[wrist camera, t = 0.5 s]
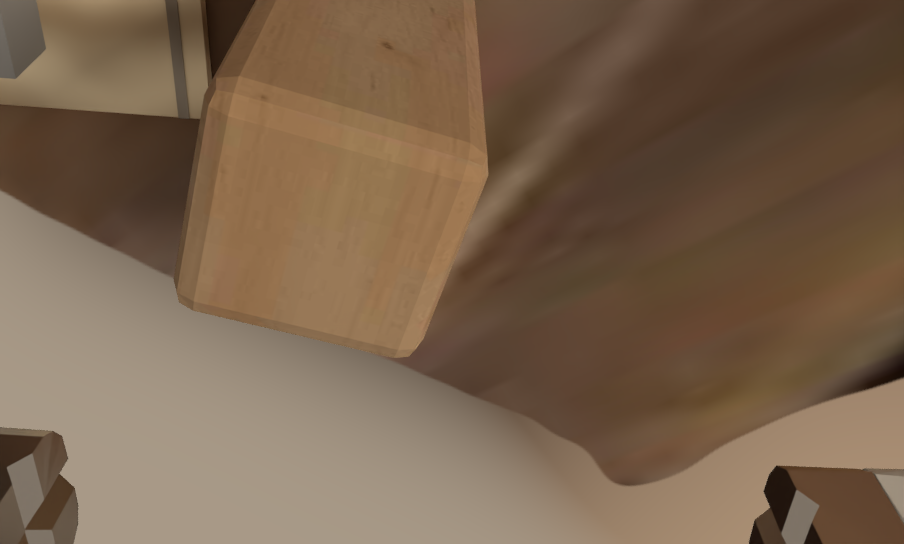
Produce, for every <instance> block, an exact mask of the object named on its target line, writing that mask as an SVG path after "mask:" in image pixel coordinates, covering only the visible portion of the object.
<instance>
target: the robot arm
mask: <svg viewBox="0 0 904 544" xmlns="http://www.w3.org/2000/svg"><path fill="white" fill-rule="evenodd" d="M67 459H68V456H67V452H66V449H65V445H64V441H63V438H62V436H61V435H59V434H57V433H55V432H54V431H45V430H31V429H17V428H2V427H0V544H73V543H74V539H75V535H76V531H77V526H78V502H77V497H76V492H75V488H74V487H73V486H72V485H71V484H70V483H69V482H68V481H67V480H65V479H64V478H63V477H62V476H61V475H60V474H59V473H60V471H61V470H62V468H63V466H64V465H65V463H66V461H67ZM764 494H765V496H766V498H767V501H768V503H769V506H770V508H769V509H768V510H767V511H766V512H764V513H763V514H762V515H760V516H759V517H758V518H757V519H755V521H754V524H753V529H752V532H751V536H750V540H749V544H904V470H900V469H866V468H865V469H863V470H861V469H847V468H821V467H797V466H776V467H775V468H774V469H773V470H772V472H771V473H770V474H769V476H768V479H767V482H766V485H765V489H764Z"/></svg>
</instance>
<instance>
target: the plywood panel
mask: <svg viewBox="0 0 904 544" xmlns="http://www.w3.org/2000/svg"><path fill="white" fill-rule="evenodd" d="M36 1H37V6H38V11H39V16H40V21H41V26H42V31H43V36H44V41H45V46H46V50H45V51H44V52H43V53H42V54H41V55H40V56H39V57H38V58H37V59H36V60H34V61H33V62H32V63H31V64H30V65H29V66H28V67H27V68H26V69H25V70H24V71H23V72H22V73H21V74H20V75H19V76H18V77H17V78H16V79H10V78H0V104H3V105H16V106H30V107H44V108H57V109H71V110H85V111H98V112H112V113H126V114H139V115H153V116H167V117H178V118H183V119H189V118H194V119H200V117H201V111H202V105H203V99H204V94H205V92H206V90H207V88H208V87H209V85H210V83H211V81H212V73H211V61H210V49H209V38H208V26H207V14H206V3H205V0H36Z"/></svg>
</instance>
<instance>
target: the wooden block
mask: <svg viewBox="0 0 904 544" xmlns="http://www.w3.org/2000/svg"><path fill="white" fill-rule="evenodd" d="M487 177H488V162H487V148H486V136H485V124H484V111H483V99H482V87H481V74H480V62H479V50H478V37H477V25H476V12H475V0H256V1H255V2H254V4H253V6H252V8H251V10H250V12H249V13H248V15H247V17H246V19H245V21H244V23H243V24H242V26H241V28H240V30H239V32H238V34H237V35H236V37H235V39H234V41H233V43H232V45H231V46H230V48H229V50H228V52H227V54H226V55H225V57H224V59H223V61H222V63H221V65H220V66H219V68H218V70H217V72H216V74H215V76H214V77H213V79H212V81H211V83H210V85H209V87H208V88H207V90H206V92H205V94H204V99H203V105H202V111H201V117H200V123H199V129H198V135H197V141H196V147H195V153H194V159H193V165H192V171H191V177H190V184H189V190H188V196H187V202H186V208H185V214H184V220H183V226H182V232H181V238H180V244H179V250H178V256H177V262H176V268H175V275H174V282H175V286H176V291H177V295H178V300H179V302H180V303H181V304H183V305H185V306H186V307H188V308H190V309H191V310H194V311H197V312H202V313H206V314H210V315H215V316H219V317H223V318H227V319H232V320H236V321H240V322H244V323H248V324H252V325H257V326H261V327H265V328H270V329H274V330H278V331H282V332H286V333H291V334H295V335H299V336H303V337H308V338H312V339H316V340H320V341H325V342H329V343H333V344H338V345H342V346H346V347H350V348H354V349H358V350H363V351H367V352H371V353H375V354H380V355H384V356H388V357H392V358H398V357H409V356H410V354H411V353H412V352H413V351H414V350H415V349H416V348H417V347H418V345H419V344H420V343H421V341H422V340H423V338H424V335H425V333H426V330H427V328H428V325H429V323H430V320H431V318H432V315H433V313H434V310H435V308H436V305H437V303H438V300H439V298H440V295H441V293H442V290H443V288H444V285H445V283H446V280H447V278H448V275H449V273H450V270H451V268H452V265H453V262H454V260H455V257H456V255H457V252H458V250H459V247H460V245H461V242H462V240H463V237H464V235H465V232H466V230H467V227H468V225H469V222H470V220H471V217H472V215H473V212H474V210H475V207H476V205H477V202H478V200H479V197H480V195H481V192H482V190H483V187H484V185H485V182H486V179H487Z"/></svg>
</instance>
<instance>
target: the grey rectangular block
mask: <svg viewBox="0 0 904 544" xmlns="http://www.w3.org/2000/svg"><path fill="white" fill-rule="evenodd" d="M45 50H46V46H45V41H44V36H43V31H42V26H41V21H40V16H39V11H38V6H37V1H36V0H0V78H10V79H16V78H17V77H18V76H19V75H20V74H21V73H22V72H23V71H24V70H25V69H26V68H27V67H28V66H29V65H30V64H31V63H32V62H33V61H34V60H36V59H37V58H38V57H39V56H40V55H41V54H42V53H43V52H44V51H45Z"/></svg>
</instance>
